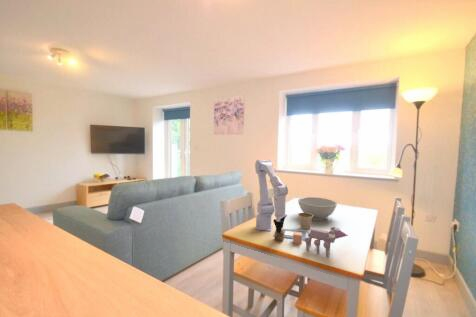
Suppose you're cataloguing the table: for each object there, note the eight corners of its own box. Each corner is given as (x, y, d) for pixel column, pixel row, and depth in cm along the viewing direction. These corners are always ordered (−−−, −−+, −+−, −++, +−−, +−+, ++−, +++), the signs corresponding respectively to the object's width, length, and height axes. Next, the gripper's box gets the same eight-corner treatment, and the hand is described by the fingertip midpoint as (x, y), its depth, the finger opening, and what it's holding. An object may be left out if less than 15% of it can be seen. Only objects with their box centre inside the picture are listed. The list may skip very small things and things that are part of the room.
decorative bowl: (329, 212, 184) (330, 197, 183) (341, 224, 157) (342, 207, 156) (295, 211, 187) (295, 196, 186) (300, 223, 160) (301, 205, 159)
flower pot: (294, 226, 154) (295, 213, 154) (306, 224, 158) (306, 211, 157) (303, 231, 146) (303, 217, 145) (315, 229, 149) (316, 216, 148)
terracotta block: (292, 243, 128) (293, 234, 128) (293, 240, 133) (293, 231, 132) (301, 244, 127) (301, 235, 127) (301, 241, 131) (302, 232, 131)
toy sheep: (348, 253, 118) (349, 227, 116) (345, 263, 109) (346, 235, 107) (308, 243, 128) (309, 219, 127) (302, 252, 119) (303, 226, 118)
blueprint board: (273, 236, 138) (273, 235, 138) (277, 228, 150) (277, 227, 150) (305, 240, 132) (305, 239, 132) (306, 232, 144) (306, 231, 144)
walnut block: (274, 240, 132) (275, 232, 131) (276, 237, 136) (276, 229, 135) (282, 241, 130) (283, 233, 130) (283, 238, 134) (284, 230, 134)
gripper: (285, 210, 123) (285, 235, 124) (288, 203, 137) (288, 226, 138) (272, 209, 126) (272, 234, 127) (276, 202, 139) (276, 225, 140)
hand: (279, 230), depth 132 cm, fingers open, 7 cm apart
